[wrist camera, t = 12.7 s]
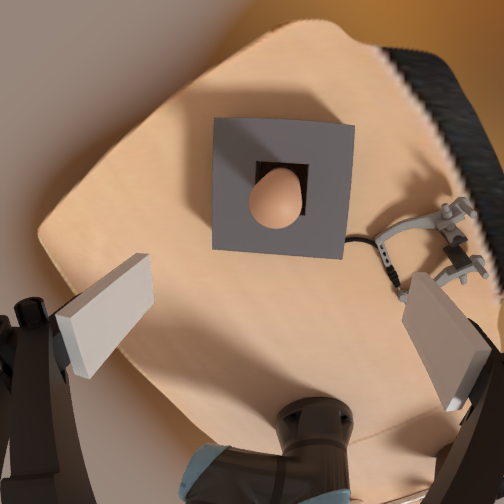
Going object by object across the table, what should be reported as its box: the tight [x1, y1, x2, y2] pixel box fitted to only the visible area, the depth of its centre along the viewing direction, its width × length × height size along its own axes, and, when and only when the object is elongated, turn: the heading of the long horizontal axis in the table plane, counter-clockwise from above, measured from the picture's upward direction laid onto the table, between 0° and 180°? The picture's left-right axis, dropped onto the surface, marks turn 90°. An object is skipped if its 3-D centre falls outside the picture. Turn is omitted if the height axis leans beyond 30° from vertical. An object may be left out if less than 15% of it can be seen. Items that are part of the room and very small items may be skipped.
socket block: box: [212, 118, 355, 260], centre depth 37 cm, size 16×16×5 cm
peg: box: [249, 166, 302, 229], centre depth 32 cm, size 4×4×15 cm
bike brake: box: [345, 197, 489, 305], centre depth 37 cm, size 14×7×20 cm
